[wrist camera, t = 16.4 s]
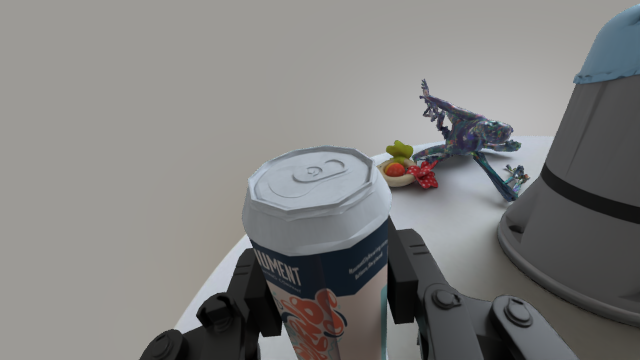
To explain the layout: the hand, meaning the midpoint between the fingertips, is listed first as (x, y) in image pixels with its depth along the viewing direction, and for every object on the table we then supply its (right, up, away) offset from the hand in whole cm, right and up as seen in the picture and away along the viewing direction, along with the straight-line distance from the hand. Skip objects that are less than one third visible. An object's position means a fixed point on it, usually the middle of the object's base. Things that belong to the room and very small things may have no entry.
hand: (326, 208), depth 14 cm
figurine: (+18, +7, +22) cm, 29 cm away
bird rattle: (+10, +1, +27) cm, 29 cm away
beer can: (+1, -8, -1) cm, 9 cm away
